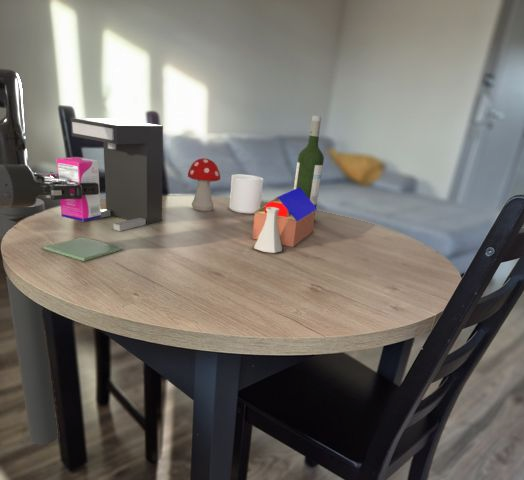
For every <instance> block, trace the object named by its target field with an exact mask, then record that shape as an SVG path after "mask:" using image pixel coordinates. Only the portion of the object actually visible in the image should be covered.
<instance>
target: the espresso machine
mask: <svg viewBox="0 0 524 480" xmlns="http://www.w3.org/2000/svg"><path fill="white" fill-rule="evenodd" d="M69 119H70V131H71V137H74V138H80V139H84V140H91V141H95V142H101V143H103V165H104V167H103V168H104V186H105V190H104V191H105V208H103V209H101V218H100V219H102V218H107V217H110V216H112V217H117V218H121V219H125V220H123V221H119V222H114V223H113V231H118V232H122V231H126V230H130V229H134V228H138V227H142V226H146V225H150V224H154V223H158V222H161V221H163V165H164V164H163V160H164V159H163V158H164V157H163V156H164V155H163V153H164V151H163V150H164V147H163V146H164V143H163V142H164V125H161V124H155V123H147V122H143V121H142V122H141V121H134V120H130V119H123V118H104V117H103V118H101V117H100V118H99V117H98V118H97V117H95V118H94V117H70V118H69ZM96 219H98V218H96ZM96 219H95V220H96Z"/></svg>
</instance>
